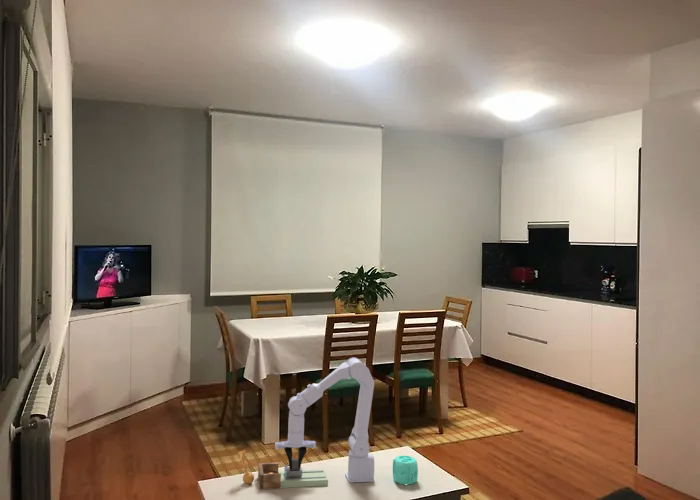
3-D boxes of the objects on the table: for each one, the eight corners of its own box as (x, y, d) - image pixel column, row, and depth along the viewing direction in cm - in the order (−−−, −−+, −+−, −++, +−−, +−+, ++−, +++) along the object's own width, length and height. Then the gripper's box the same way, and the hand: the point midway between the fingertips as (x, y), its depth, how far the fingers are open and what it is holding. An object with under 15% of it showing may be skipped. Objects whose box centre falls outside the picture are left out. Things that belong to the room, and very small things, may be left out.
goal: (277, 475, 217) (278, 462, 217) (280, 488, 206) (280, 474, 206) (258, 476, 216) (258, 463, 216) (259, 489, 205) (260, 475, 205)
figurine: (253, 488, 205) (254, 454, 205) (235, 488, 205) (236, 454, 205) (254, 478, 214) (255, 446, 214) (237, 479, 213) (238, 446, 213)
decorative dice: (395, 485, 213) (396, 463, 213) (392, 476, 221) (392, 455, 221) (417, 485, 214) (418, 463, 213) (413, 476, 221) (413, 455, 221)
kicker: (300, 470, 217) (300, 455, 217) (302, 477, 210) (303, 462, 210) (284, 471, 215) (284, 456, 215) (286, 478, 209) (286, 463, 209)
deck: (323, 474, 220) (323, 468, 220) (327, 485, 210) (328, 479, 210) (277, 476, 217) (278, 470, 217) (280, 487, 207) (280, 481, 207)
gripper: (314, 426, 218) (312, 462, 218) (275, 427, 215) (273, 464, 215) (317, 432, 211) (315, 470, 211) (276, 433, 208) (275, 471, 208)
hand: (294, 467), depth 213 cm, fingers closed on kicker, 2 cm apart
